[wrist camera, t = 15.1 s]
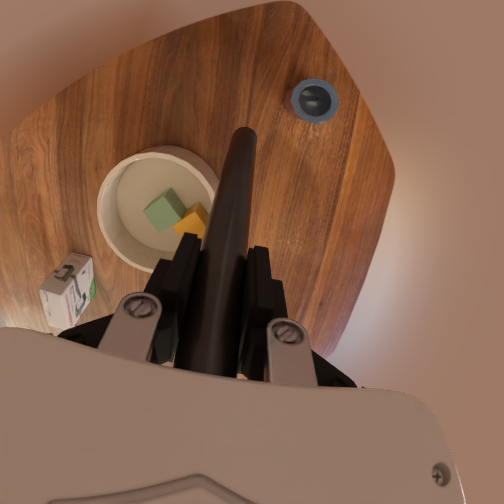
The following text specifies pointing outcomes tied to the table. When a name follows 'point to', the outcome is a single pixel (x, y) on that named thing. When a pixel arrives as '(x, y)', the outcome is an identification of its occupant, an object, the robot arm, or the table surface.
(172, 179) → the bowl
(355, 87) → the table surface
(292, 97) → the holder
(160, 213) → the sage cube
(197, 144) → the table surface
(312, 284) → the table surface
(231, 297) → the stirring stick
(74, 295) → the ink box
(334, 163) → the table surface
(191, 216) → the mustard cube
